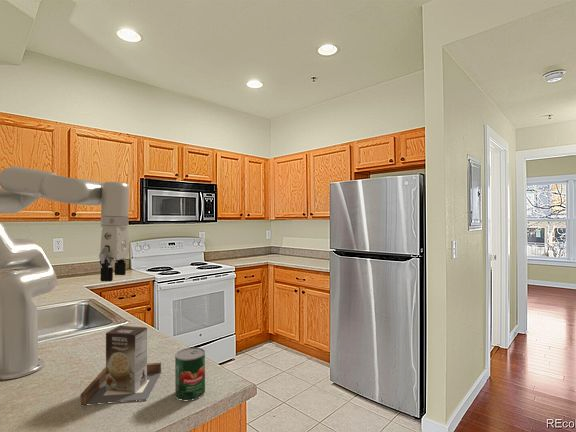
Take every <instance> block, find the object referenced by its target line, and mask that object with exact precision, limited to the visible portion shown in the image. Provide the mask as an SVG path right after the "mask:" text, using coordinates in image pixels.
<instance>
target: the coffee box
mask: <svg viewBox="0 0 576 432" xmlns="http://www.w3.org/2000/svg"><path fill="white" fill-rule="evenodd" d="M147 364H148V327H145V326H130V325H119V326H116V327H115V328H113V329H111V330H109V331H107V332H106V333H105V367H106V390H108V391H118V392H128V393H135V392H137V391H138V390H139V389H140V388H141V387H142V386H143V385H144V384H146V383H147Z"/></svg>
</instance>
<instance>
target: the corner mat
mask: <svg viewBox="0 0 576 432" xmlns="http://www.w3.org/2000/svg"><path fill="white" fill-rule="evenodd" d="M160 375H161V374H160V373H150V374H147V383H146V384H144V385H143V386H142V387H141V388H140V389H139V390H138V391H137V392H135V393H128V392H118V391H108V390H106V381H105V382H104V383H103V384H102V385H101V387H100V388H99V389H98V390H97V391H96V392H95V394H94V395H93V396H92V397H91V398H90V400H89V401H88V402H87V403H86V405H85V406H88V405H87V404H97V405H99V404H98V403H108V402H121V401H135V402H140V401H139V400H146V399H147V400H148V398H149V397H150V395H151V393H152V391H153V389H154V388H155V385H156V384H157V381H158V379H159V378H160ZM150 392H151V393H150ZM149 394H150V395H149ZM136 400H137V401H136ZM147 400H146V401H147Z"/></svg>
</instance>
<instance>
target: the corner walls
mask: <svg viewBox="0 0 576 432" xmlns="http://www.w3.org/2000/svg"><path fill="white" fill-rule="evenodd" d="M150 373H160V375H161V374H162V362H151V363H148V362H147V374H150ZM105 381H106V366H104V368H103V369H102V370H101V371H100V372H99V374H98V375H97V376H96V377H95V378H94V379H93V380H92V381H91V382H90V383H89V384H88V385H87V386H86V388H85V389H84V390H83V391H82V392H81V393H80V405H84V406H87V405H86V403H87V402H88V401H89V400H90V398H91V397H92V396H93V395H94V394H95V392H96V391H97V390H98V389H99V388H100V387H101V385H102V384H103V383H104V382H105Z"/></svg>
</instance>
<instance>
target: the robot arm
mask: <svg viewBox="0 0 576 432" xmlns="http://www.w3.org/2000/svg"><path fill="white" fill-rule="evenodd" d="M39 199H44V200H49V201H54V202H59V203H64V204H69V205H79V206H83V205H84V206H101V208H100V211H101V213H100V228H102V229H101V236H100V237H101V239H100V248H99V249H100V252H99V255H98V258H99V267H100V279H99V280H100V282H112V281H113V280H114V279H113V276H114V275H115V276H125V275H126V274H127V273H126V268H127V266H126V265H127V263H126V262H127V258H128V257H129V254H130V253H129V252H130V251H129V250H130V247H129V244H130V243H129V231H128V230H129V229H128V228H129V221H130V219H129V218H130V217H129V214H130V213H129V211H130V210H129V209H130V186H129V184H128V183H126V182H121V181H105V182H102V181H101V182H100V181H96V180H90V179H84V178H83V179H82V178H76V177H70V176H69V177H68V176H63V175H58V174H57V173H55V172H52V171H45V170H39V169H34V168H30V167H29V168H28V167H23V166H9V167H6V168H3V169H2V170H1V171H0V214H16V213H20V212H22V211H23V210H24V209H26V208H28V207H29V206H31V205H32V204H34V203H35V202H37V201H38V200H39ZM114 261H115V262H114ZM113 263H114V267H113ZM9 270H10V271H9ZM11 270H12V271H11ZM3 271H8V272H6V273H4V274H1V276H0V380H4V381H5V380H12V379H17V378H21V377H25V376H28V375H31V374H33V373H36V372H37V371H39V370H41V369H42V368H43V367H44V366H45V360H44V359H42V358H39V328H38V327H39V325H38V324H39V323H38V320H39V319H38V316H39V315H38V309H37V306H36V305H35V304H34V301H33V299H32V298H34V297H38V296H41V295H45V294H47V293H48V294H49V293H50V292H52V291H53V290H54V289H55V288H56V285H57V284H58V277H57V274H56V271H55V270H54V268H53V266H52V263H51V262H50V260H49V258H48V257H47V255H46V253H45V251H44V250H43V248H42V247H41V245H40V244H38V242H36V241H34V240H32V239H26V238H25V239H24V238H21V239H14V238H13V237H12V236H11V235H10V233H9V232H8V229H7V228H6V226H5V225H4V224H3V222H1V221H0V272H3Z"/></svg>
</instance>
